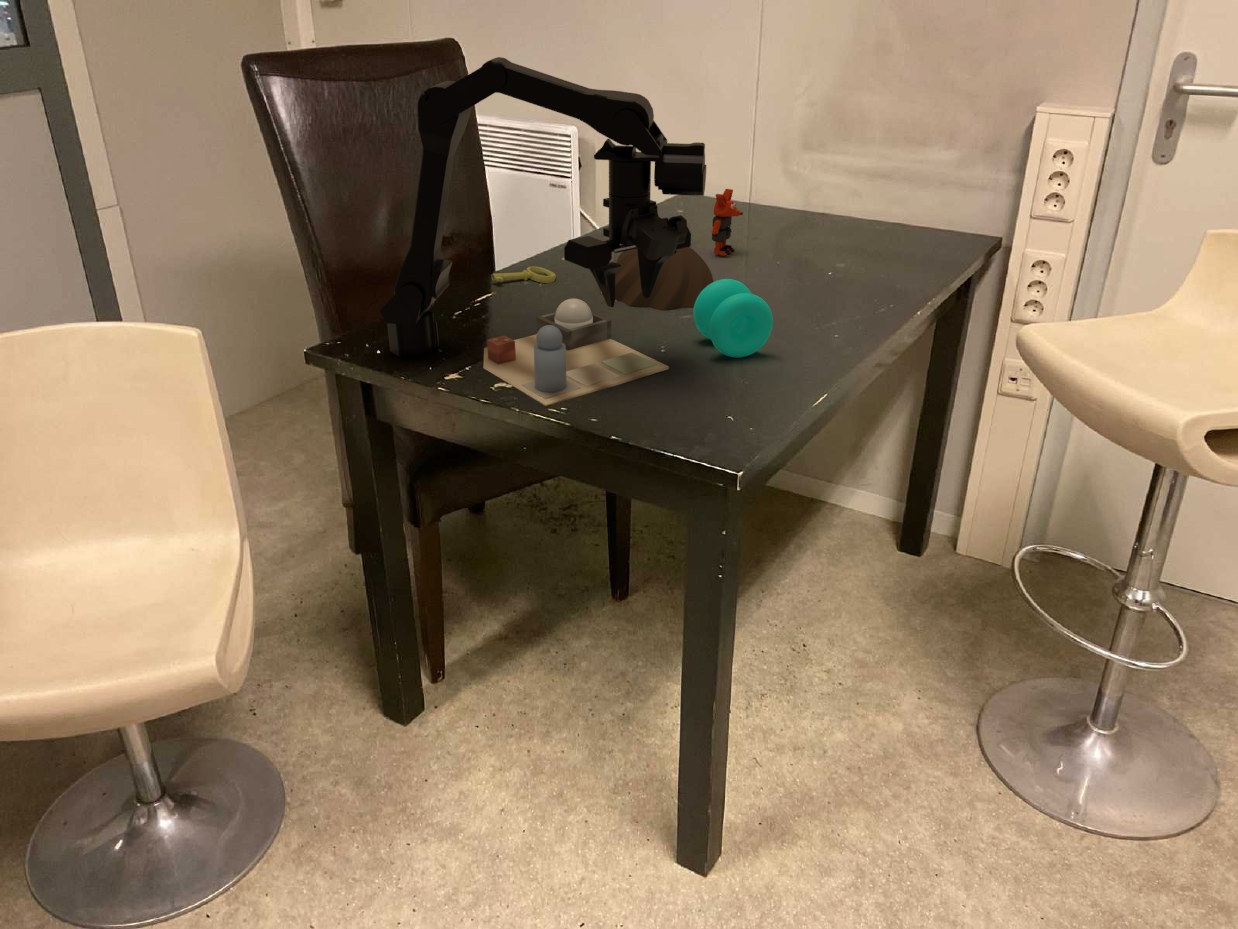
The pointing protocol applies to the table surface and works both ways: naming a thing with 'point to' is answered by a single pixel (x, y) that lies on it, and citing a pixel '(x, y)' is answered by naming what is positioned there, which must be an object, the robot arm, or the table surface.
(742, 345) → the teal yo-yo
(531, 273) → the key
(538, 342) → the pawn
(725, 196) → the toy animal
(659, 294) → the decorative dome
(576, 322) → the dome button
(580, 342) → the game board
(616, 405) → the table surface
